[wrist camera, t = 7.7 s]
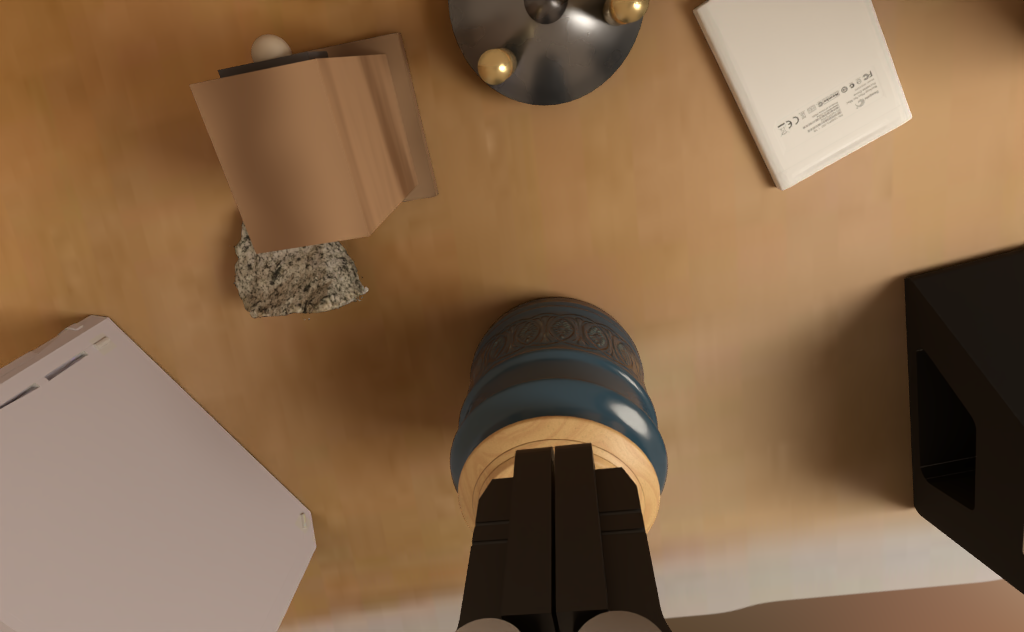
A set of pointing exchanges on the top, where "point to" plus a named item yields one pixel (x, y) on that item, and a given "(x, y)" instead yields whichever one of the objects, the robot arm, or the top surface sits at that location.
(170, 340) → the top surface
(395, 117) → the brown angular box
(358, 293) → the rock sample
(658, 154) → the top surface
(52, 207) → the top surface
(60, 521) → the game console
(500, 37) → the three-bulb candle holder
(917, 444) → the device stand
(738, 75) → the external hard drive
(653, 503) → the canister
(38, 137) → the top surface
